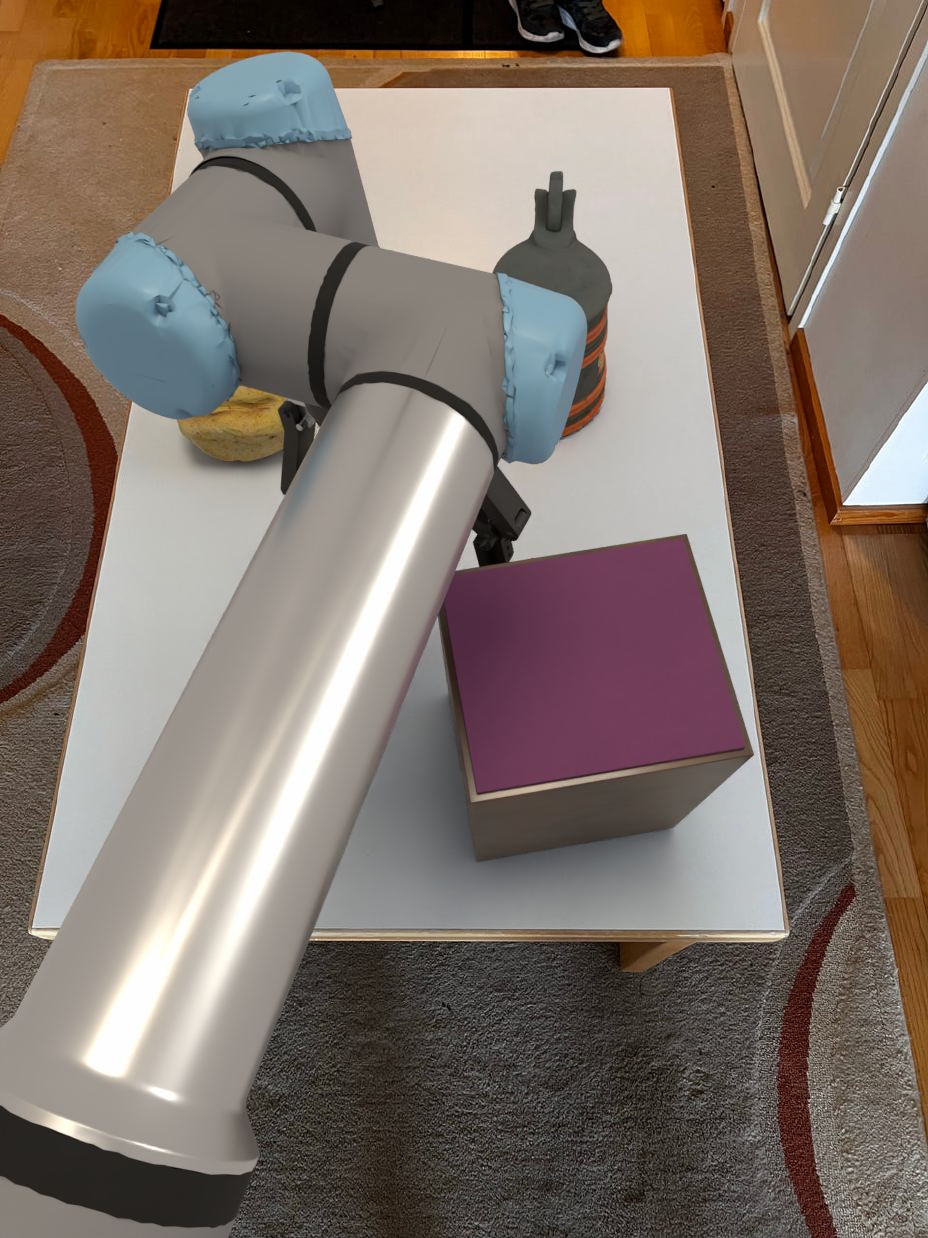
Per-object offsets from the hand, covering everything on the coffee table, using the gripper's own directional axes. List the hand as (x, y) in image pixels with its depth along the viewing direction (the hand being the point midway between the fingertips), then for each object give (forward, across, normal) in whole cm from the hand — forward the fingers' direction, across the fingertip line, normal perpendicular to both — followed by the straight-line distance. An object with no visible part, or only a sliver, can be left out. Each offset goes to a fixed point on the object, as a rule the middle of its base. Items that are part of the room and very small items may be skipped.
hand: (423, 572), depth 70 cm
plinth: (+21, -10, +2) cm, 23 cm away
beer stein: (+9, +7, -38) cm, 39 cm away
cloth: (-4, -17, +7) cm, 18 cm away
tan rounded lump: (+5, +33, -18) cm, 38 cm away
